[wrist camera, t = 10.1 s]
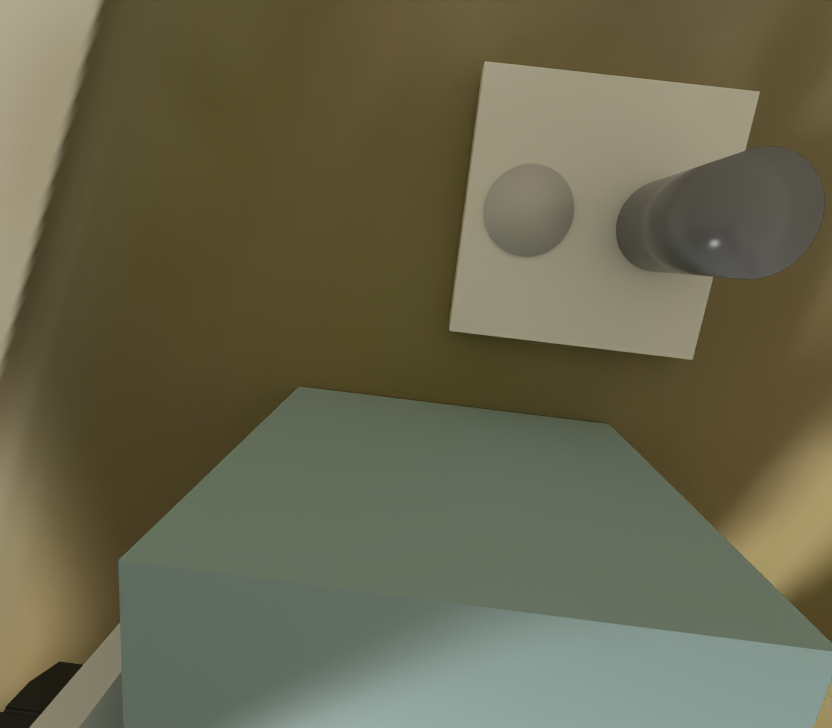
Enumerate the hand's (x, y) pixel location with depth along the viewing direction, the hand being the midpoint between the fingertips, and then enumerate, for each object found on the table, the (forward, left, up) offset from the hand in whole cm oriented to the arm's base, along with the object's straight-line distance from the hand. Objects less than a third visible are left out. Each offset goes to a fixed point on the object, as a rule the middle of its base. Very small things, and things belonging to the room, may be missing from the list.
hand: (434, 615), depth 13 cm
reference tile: (+3, +11, -3) cm, 12 cm away
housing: (0, 0, -3) cm, 3 cm away
